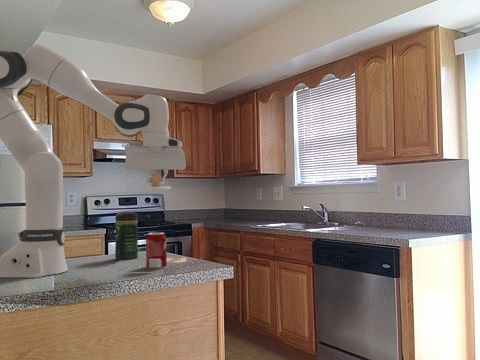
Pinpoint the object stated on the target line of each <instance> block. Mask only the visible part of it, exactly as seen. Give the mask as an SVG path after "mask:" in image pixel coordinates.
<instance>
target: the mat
mask: <svg viewBox="0 0 480 360" xmlns="http://www.w3.org/2000/svg"><path fill="white" fill-rule="evenodd" d="M171 263H173V264H174V263H175V264H179V263H187V257H174V258H171V257H167V264H171Z"/></svg>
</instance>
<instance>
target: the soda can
mask: <svg viewBox="0 0 480 360" xmlns="http://www.w3.org/2000/svg"><path fill="white" fill-rule="evenodd" d="M167 240H168V239H167V237H166V235H165V232H161V231H160V232H159V231H158V232H157V231H155V232H154V231H153V232H148V233H147V237H146V238H145V252H146V253H145V256H146V257H145V263H146V264H145V267H146V269H150V270H158V269H159V270H160V269H165V268H167V264H168V263H167V258H168V257H167V256H168V254H167V246H168V245H167V244H168V243H167Z"/></svg>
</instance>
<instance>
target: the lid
mask: <svg viewBox="0 0 480 360" xmlns="http://www.w3.org/2000/svg"><path fill="white" fill-rule="evenodd" d="M150 178H151V183H150V184H151V185H150V186H140V190H171V189H172V186H161V183H160V181H161V180H160V178H161V173H151V176H150Z"/></svg>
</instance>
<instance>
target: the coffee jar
mask: <svg viewBox="0 0 480 360" xmlns="http://www.w3.org/2000/svg"><path fill="white" fill-rule="evenodd" d="M138 219H139V218H138V214H137V213H136V212H134V211H130V210H129V211H128V210H126V211H120V212H118V213H116V214H115V221H114V222H115V247H114V248H115V252H114V254H115V255H114V257H115V259H116V260H118V261H127V260H136V259H138V257H139V256H138V254H139V251H138V250H139V248H138V246H139V245H138V243H139V242H138V241H139V240H138V237H139V236H138V228H139V227H138V223H139V222H138V221H139V220H138Z"/></svg>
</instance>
